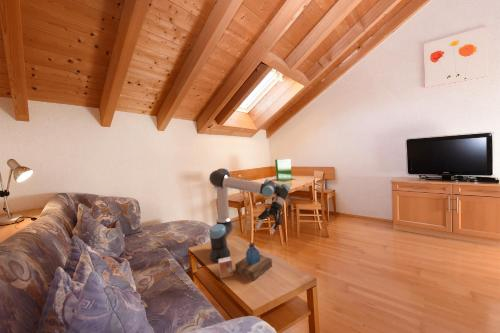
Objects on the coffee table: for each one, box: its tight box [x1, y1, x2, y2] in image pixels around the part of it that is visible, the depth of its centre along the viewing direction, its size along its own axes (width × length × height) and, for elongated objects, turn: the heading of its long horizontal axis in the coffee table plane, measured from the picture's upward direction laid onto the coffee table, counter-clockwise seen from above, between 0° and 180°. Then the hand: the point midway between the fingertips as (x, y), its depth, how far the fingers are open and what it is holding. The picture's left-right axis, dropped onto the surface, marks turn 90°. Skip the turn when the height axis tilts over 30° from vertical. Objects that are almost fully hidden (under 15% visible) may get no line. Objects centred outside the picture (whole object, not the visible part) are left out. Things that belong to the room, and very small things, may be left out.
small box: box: [217, 256, 234, 279], centre depth 141 cm, size 8×6×10 cm
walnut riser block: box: [234, 254, 273, 282], centre depth 145 cm, size 16×18×6 cm
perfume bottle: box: [245, 242, 260, 265], centre depth 144 cm, size 6×6×12 cm
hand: (263, 230), depth 150 cm, fingers open, 13 cm apart
